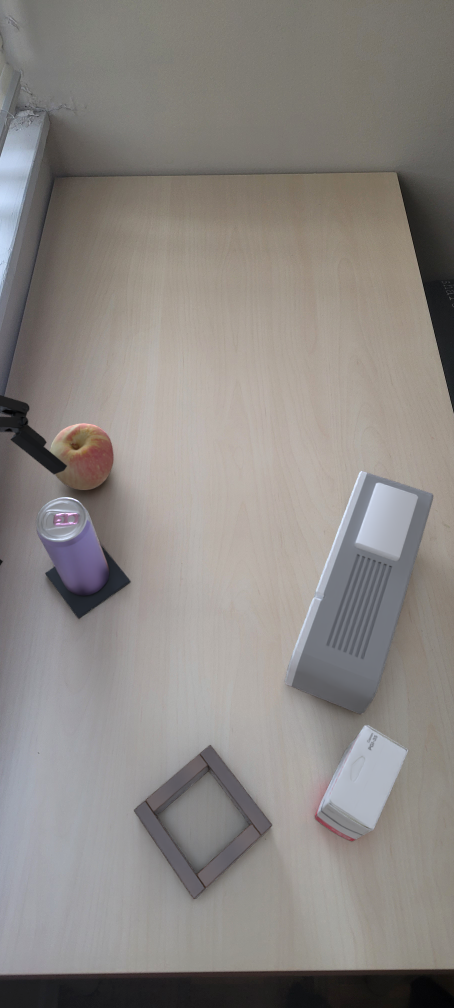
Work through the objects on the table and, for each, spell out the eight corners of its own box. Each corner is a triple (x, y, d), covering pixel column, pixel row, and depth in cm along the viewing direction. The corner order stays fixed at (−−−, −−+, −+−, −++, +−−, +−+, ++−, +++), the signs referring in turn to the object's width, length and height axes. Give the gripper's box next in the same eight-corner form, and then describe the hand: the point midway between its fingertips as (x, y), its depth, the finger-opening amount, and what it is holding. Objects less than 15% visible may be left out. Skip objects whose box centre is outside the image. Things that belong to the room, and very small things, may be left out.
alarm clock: (348, 508, 89) (364, 459, 79) (414, 530, 87) (438, 482, 77) (282, 691, 76) (289, 659, 66) (357, 721, 74) (377, 694, 64)
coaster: (78, 619, 81) (77, 617, 80) (45, 574, 84) (44, 572, 83) (130, 582, 83) (130, 580, 83) (97, 540, 87) (96, 538, 86)
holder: (195, 899, 65) (193, 899, 62) (137, 813, 69) (133, 810, 66) (270, 828, 68) (272, 825, 65) (211, 750, 72) (210, 744, 69)
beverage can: (109, 596, 82) (86, 541, 69) (62, 599, 81) (31, 543, 69) (110, 554, 85) (89, 494, 72) (65, 557, 85) (36, 496, 72)
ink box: (352, 844, 67) (373, 835, 57) (310, 817, 69) (324, 804, 59) (386, 769, 71) (411, 749, 61) (346, 745, 73) (365, 721, 62)
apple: (114, 444, 95) (105, 409, 88) (121, 493, 90) (112, 461, 84) (55, 454, 94) (41, 420, 87) (59, 505, 89) (45, 472, 83)
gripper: (-74, 320, 72) (70, 441, 82) (-238, 491, 60) (-46, 610, 70) (-53, 294, 67) (99, 428, 76) (-228, 478, 55) (-22, 609, 64)
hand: (30, 515), depth 73 cm, fingers open, 13 cm apart
